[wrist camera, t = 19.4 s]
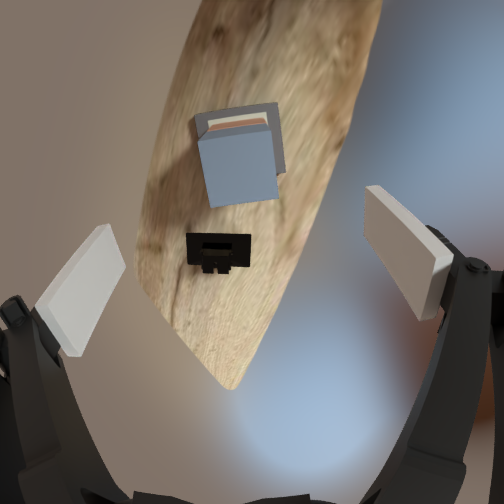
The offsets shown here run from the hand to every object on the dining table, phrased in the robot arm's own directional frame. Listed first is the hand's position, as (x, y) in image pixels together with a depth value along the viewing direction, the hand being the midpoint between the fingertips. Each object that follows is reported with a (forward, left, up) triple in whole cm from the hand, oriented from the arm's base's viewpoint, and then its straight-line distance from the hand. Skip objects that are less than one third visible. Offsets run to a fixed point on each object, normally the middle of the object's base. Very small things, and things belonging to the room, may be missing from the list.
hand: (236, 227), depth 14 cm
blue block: (0, 0, -17) cm, 17 cm away
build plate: (+6, +15, -26) cm, 30 cm away
